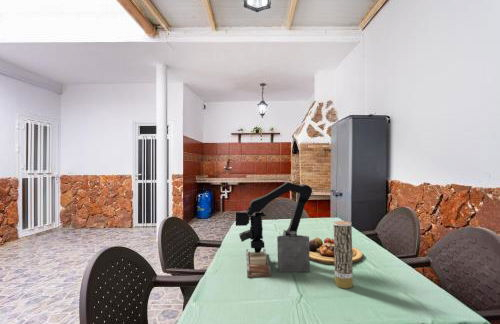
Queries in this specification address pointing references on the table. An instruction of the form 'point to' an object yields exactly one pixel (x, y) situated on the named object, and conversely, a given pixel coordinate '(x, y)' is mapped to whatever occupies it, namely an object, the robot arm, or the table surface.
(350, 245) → the tree log
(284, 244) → the flask
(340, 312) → the table surface
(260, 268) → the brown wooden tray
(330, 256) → the wooden plate with food
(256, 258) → the cream square block
